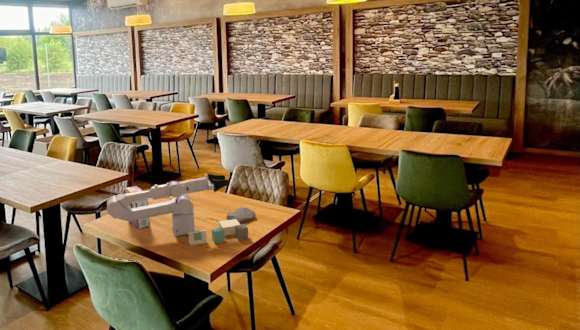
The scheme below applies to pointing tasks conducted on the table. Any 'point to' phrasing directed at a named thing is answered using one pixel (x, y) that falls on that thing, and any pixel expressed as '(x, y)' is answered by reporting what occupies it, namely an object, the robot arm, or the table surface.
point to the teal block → (218, 235)
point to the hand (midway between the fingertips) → (226, 179)
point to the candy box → (141, 222)
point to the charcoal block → (241, 232)
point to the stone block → (241, 214)
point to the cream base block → (229, 226)
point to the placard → (197, 237)
